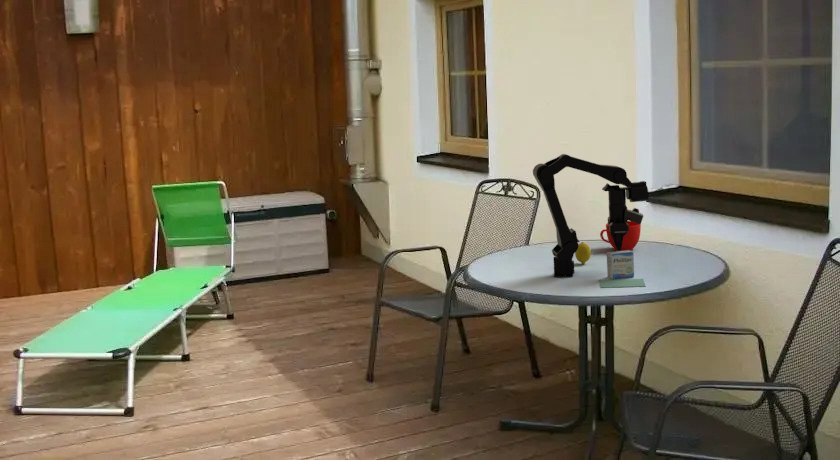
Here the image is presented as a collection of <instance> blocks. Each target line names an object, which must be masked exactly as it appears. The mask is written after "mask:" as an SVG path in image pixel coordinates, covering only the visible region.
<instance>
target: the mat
mask: <svg viewBox="0 0 840 460" xmlns="http://www.w3.org/2000/svg"><path fill="white" fill-rule="evenodd" d="M599 282H600V283H599V284H600V288H601V289H607V288H608V289H609V288H610V289H612V288H638V287H639V288H642V287H643V288H644V287H645V288H646V283H645V281H644V278H621V279H599Z"/></svg>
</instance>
